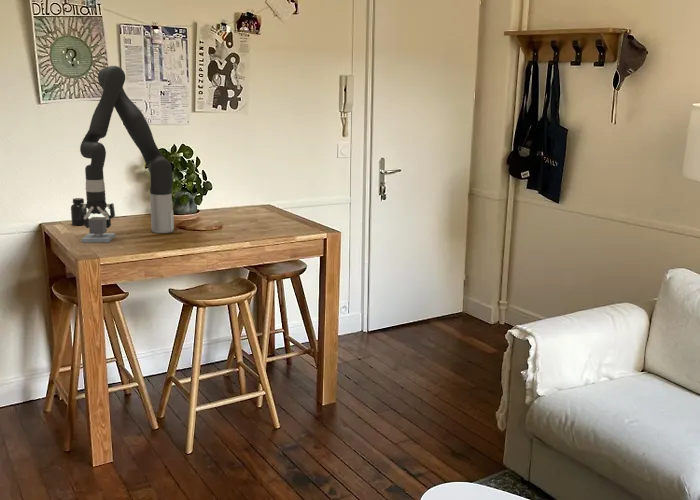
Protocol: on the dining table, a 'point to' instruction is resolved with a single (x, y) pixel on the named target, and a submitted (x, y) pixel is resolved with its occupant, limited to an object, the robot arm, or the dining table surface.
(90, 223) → the block
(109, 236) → the post base
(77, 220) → the supplement bottle
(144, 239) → the dining table surface
